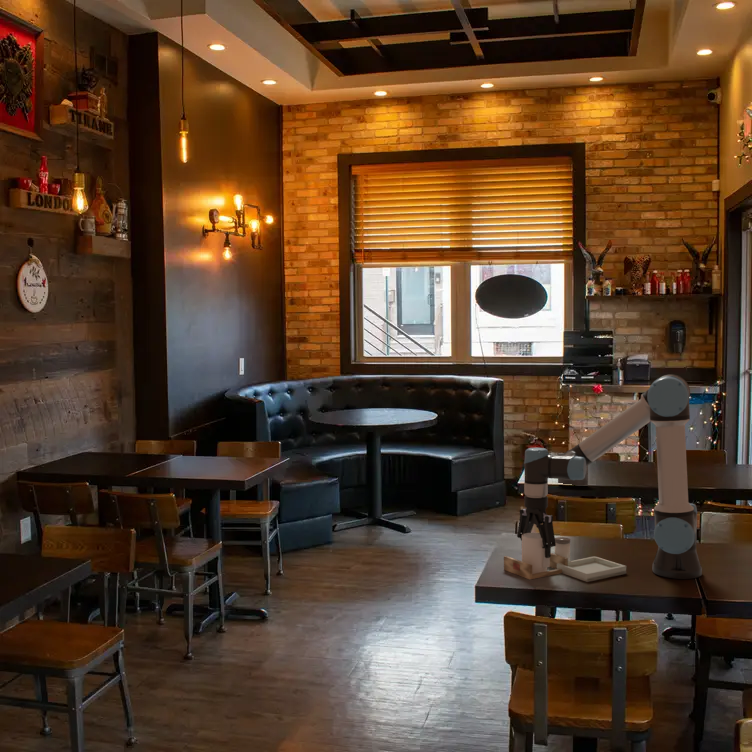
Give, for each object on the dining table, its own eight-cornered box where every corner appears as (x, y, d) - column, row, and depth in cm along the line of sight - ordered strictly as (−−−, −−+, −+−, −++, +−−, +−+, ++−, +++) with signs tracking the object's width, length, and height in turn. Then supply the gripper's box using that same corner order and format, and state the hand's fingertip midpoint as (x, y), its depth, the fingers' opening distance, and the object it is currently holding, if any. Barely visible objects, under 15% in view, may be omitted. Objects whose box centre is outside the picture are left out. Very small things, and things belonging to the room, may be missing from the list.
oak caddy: (567, 571, 293) (567, 558, 293) (529, 579, 285) (529, 565, 285) (541, 562, 304) (541, 549, 304) (503, 569, 296) (503, 556, 296)
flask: (588, 487, 437) (588, 450, 435) (557, 486, 440) (558, 449, 438) (587, 485, 440) (588, 449, 439) (557, 485, 443) (558, 448, 442)
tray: (626, 573, 291) (626, 566, 290) (587, 581, 282) (587, 574, 282) (595, 563, 303) (595, 556, 302) (556, 571, 294) (556, 563, 294)
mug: (525, 564, 302) (525, 529, 301) (550, 566, 299) (550, 531, 298) (518, 574, 291) (518, 537, 290) (545, 576, 288) (545, 539, 287)
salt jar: (573, 566, 299) (573, 539, 299) (561, 568, 297) (561, 541, 296) (562, 562, 304) (562, 536, 303) (551, 564, 301) (551, 538, 301)
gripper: (567, 499, 285) (567, 569, 287) (523, 489, 304) (523, 554, 305) (549, 502, 282) (549, 573, 283) (505, 491, 300) (505, 557, 302)
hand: (535, 563), depth 294 cm, fingers closed on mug, 9 cm apart
